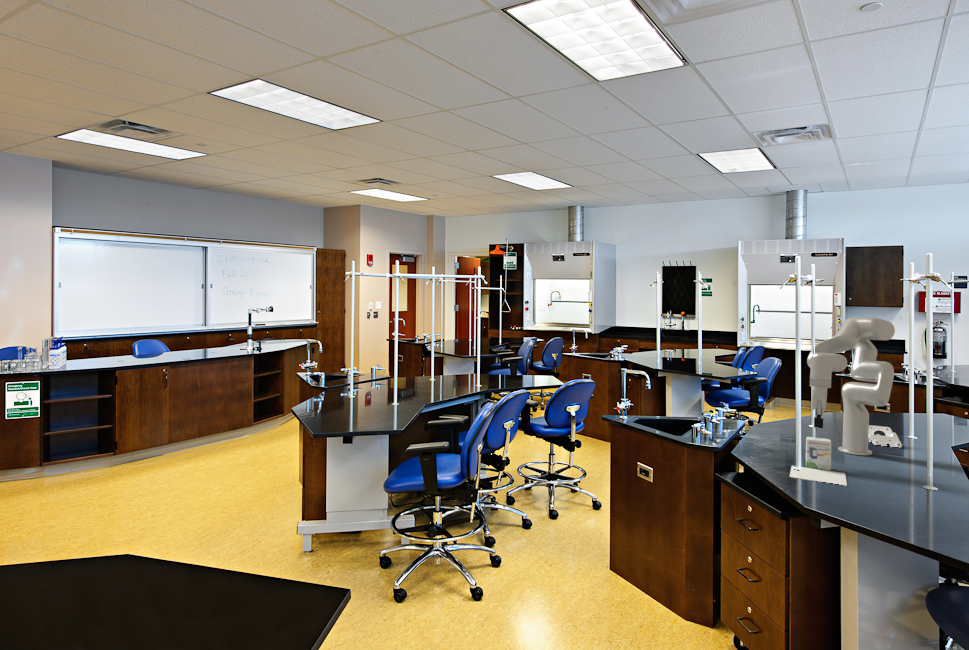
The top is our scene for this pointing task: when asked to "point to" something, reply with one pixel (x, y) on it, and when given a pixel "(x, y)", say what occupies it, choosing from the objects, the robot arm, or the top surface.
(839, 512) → the top surface
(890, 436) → the mounting bracket
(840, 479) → the bench mat
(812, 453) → the ink box
